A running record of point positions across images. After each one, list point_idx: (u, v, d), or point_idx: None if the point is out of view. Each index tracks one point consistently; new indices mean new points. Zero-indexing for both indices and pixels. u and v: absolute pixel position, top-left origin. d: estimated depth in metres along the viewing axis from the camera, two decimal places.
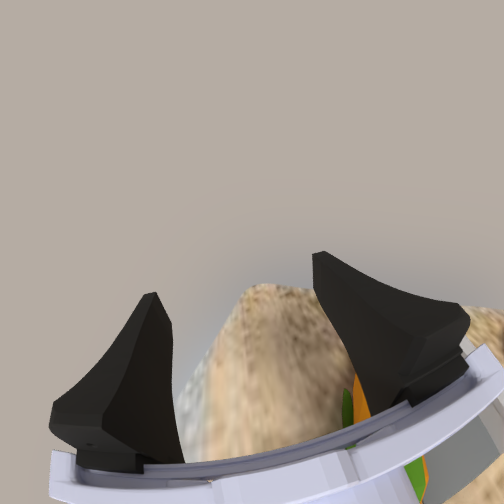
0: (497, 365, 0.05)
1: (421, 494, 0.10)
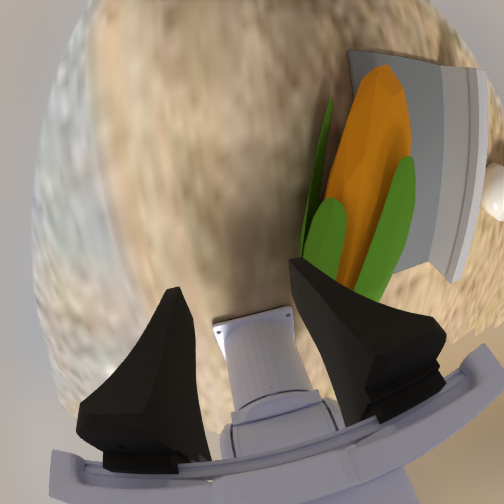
0: (497, 365, 0.05)
1: None
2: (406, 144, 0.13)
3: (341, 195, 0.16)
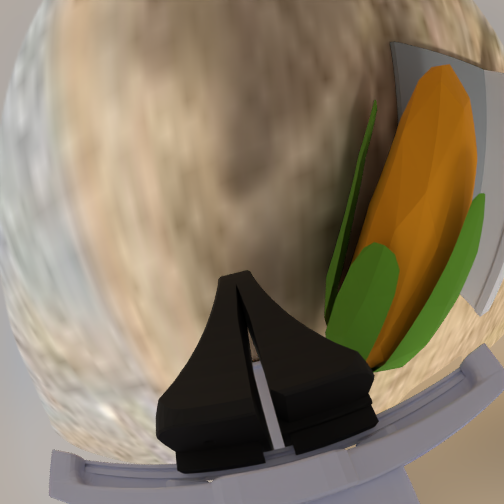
0: (497, 365, 0.05)
1: None
2: (472, 173, 0.09)
3: (392, 238, 0.11)
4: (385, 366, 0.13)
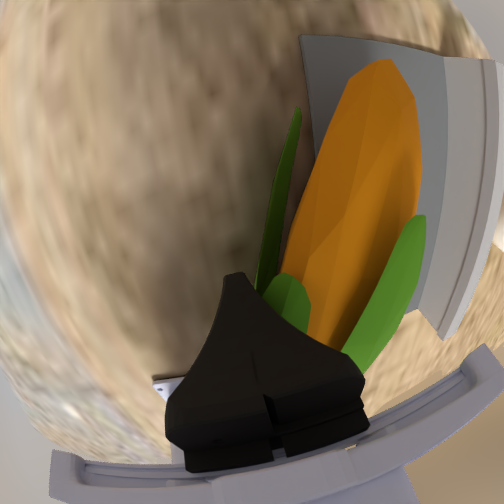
0: (497, 365, 0.05)
1: None
2: (414, 188, 0.09)
3: (305, 268, 0.11)
4: None
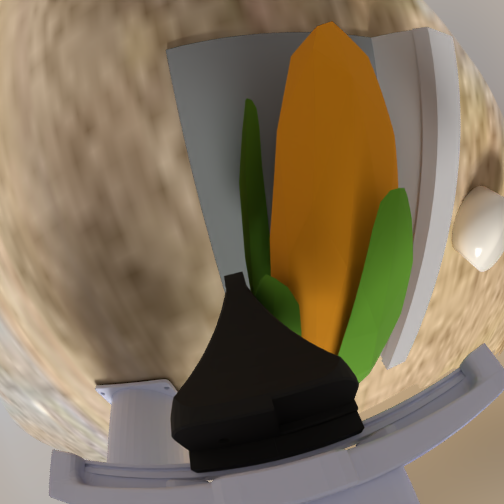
0: (497, 365, 0.05)
1: None
2: (388, 157, 0.08)
3: (288, 265, 0.10)
4: None
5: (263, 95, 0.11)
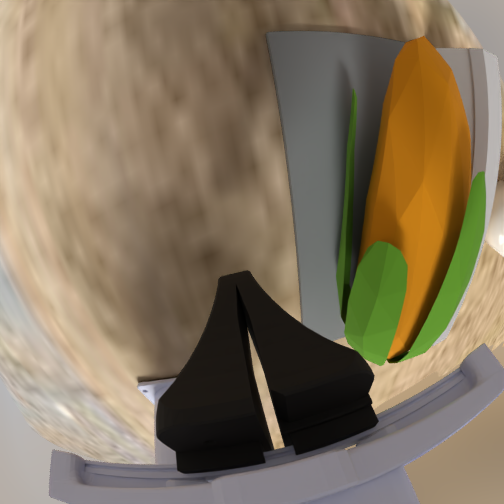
0: (497, 365, 0.05)
1: None
2: (467, 149, 0.08)
3: (395, 233, 0.11)
4: (408, 356, 0.13)
5: (351, 88, 0.11)
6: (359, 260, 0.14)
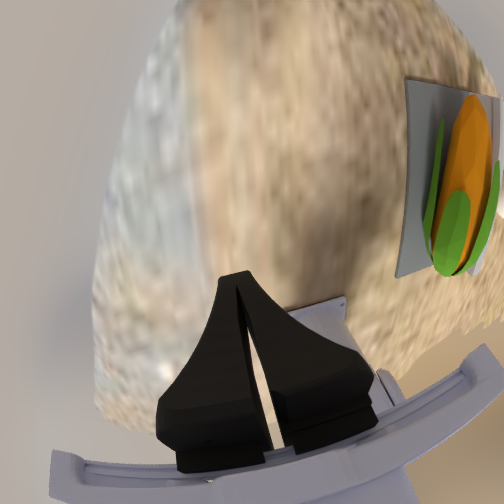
0: (497, 365, 0.05)
1: None
2: (491, 150, 0.16)
3: (462, 187, 0.18)
4: (468, 262, 0.20)
5: (436, 114, 0.19)
6: (438, 207, 0.22)
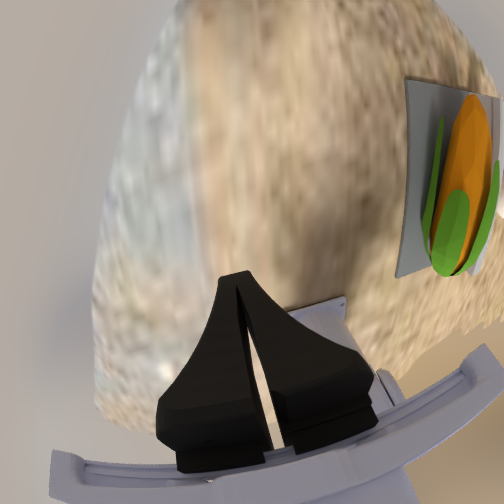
0: (497, 365, 0.05)
1: None
2: (491, 150, 0.16)
3: (462, 186, 0.18)
4: (467, 262, 0.20)
5: (436, 114, 0.19)
6: (437, 206, 0.22)
